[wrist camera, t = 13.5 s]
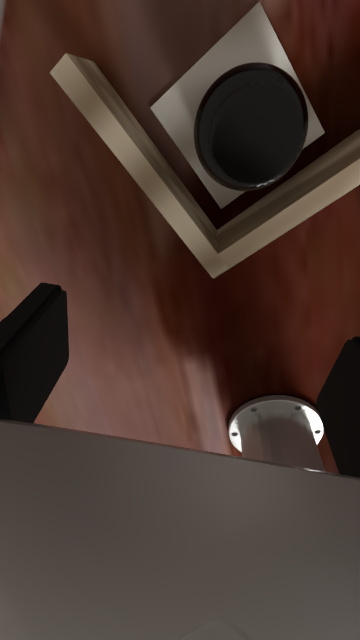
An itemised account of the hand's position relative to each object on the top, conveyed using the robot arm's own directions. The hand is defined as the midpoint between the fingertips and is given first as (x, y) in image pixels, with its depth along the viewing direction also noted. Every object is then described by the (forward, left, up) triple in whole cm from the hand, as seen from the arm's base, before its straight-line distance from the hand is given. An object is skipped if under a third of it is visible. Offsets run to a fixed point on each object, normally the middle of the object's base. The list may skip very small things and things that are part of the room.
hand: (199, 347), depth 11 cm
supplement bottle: (+3, -5, -23) cm, 24 cm away
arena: (+4, -6, -23) cm, 24 cm away
